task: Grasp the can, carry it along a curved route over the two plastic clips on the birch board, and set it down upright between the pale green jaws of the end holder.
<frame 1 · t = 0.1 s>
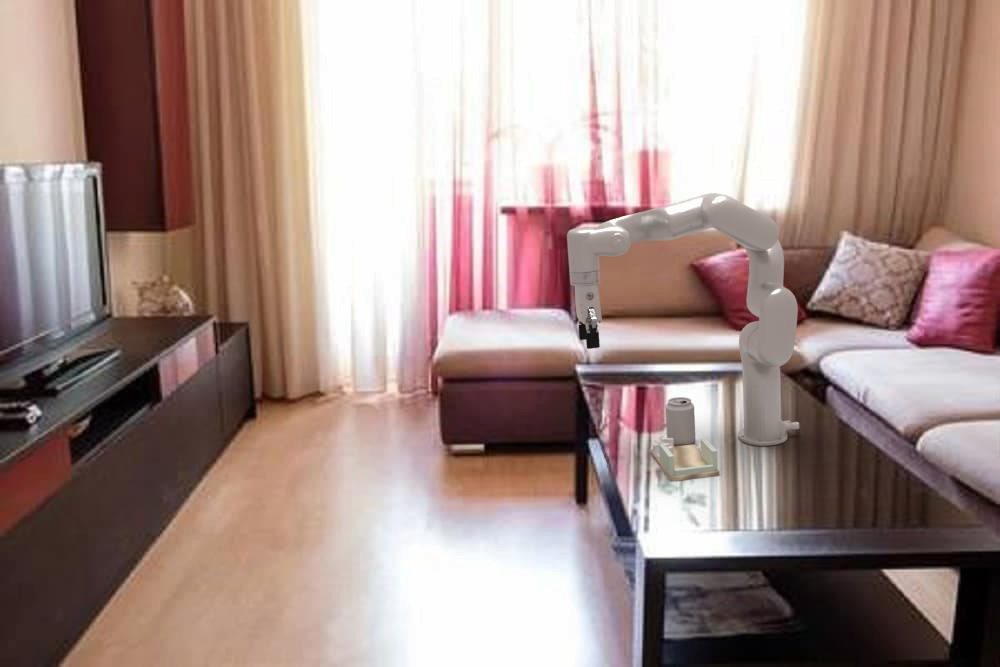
hand: (589, 343, 225), 31 cm above the table, fingers open, 9 cm apart
can: (681, 443, 238), on the table
end holder: (688, 470, 220), resting on route board
clip b: (663, 460, 227), resting on route board
route board: (683, 463, 224), on the table
clip a: (666, 455, 230), resting on route board
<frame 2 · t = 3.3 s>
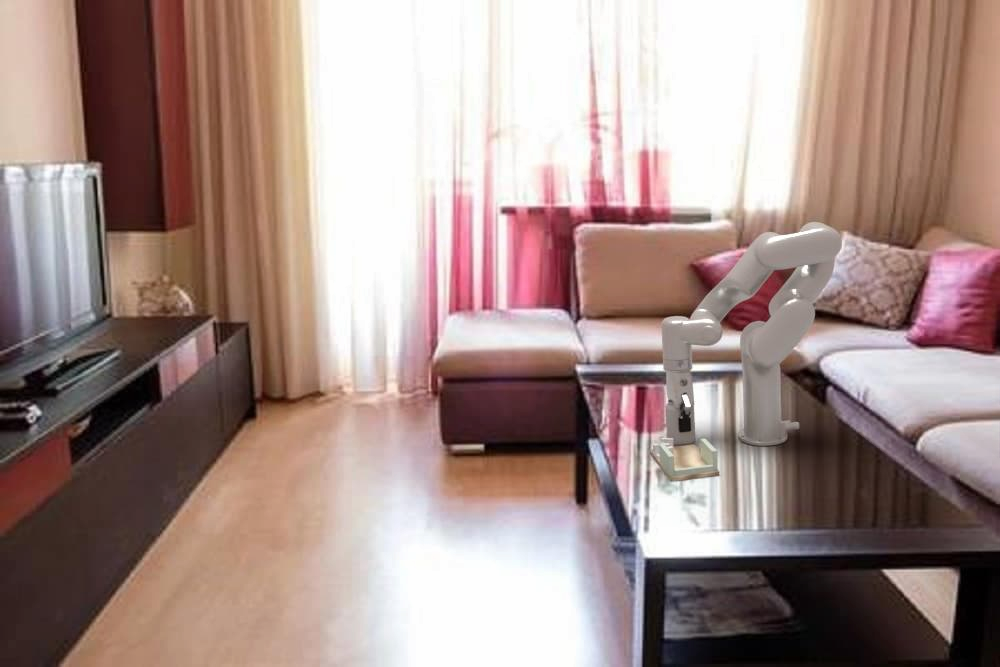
hand: (680, 426, 237), 5 cm above the table, fingers closed on can, 7 cm apart
can: (681, 443, 238), on the table, touching gripper
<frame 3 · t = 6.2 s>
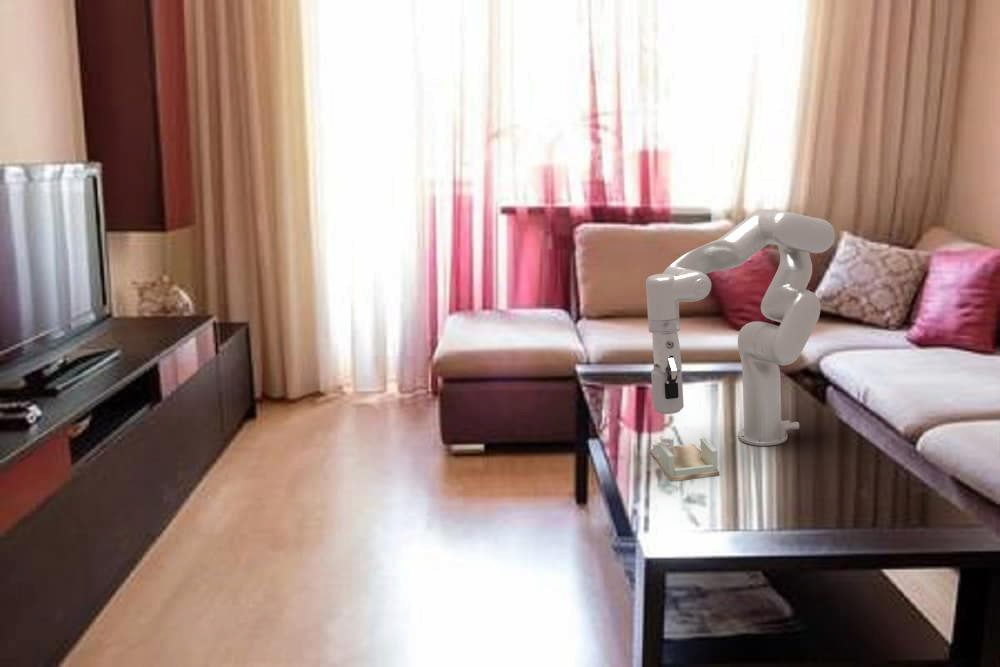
hand: (667, 392, 221), 19 cm above the table, fingers closed on can, 7 cm apart
can: (668, 411, 222), point 14 cm above the table, touching gripper
when the fingers open (7 cm above the table, at t = 9.4 s): can drops 1 cm, resting on route board.
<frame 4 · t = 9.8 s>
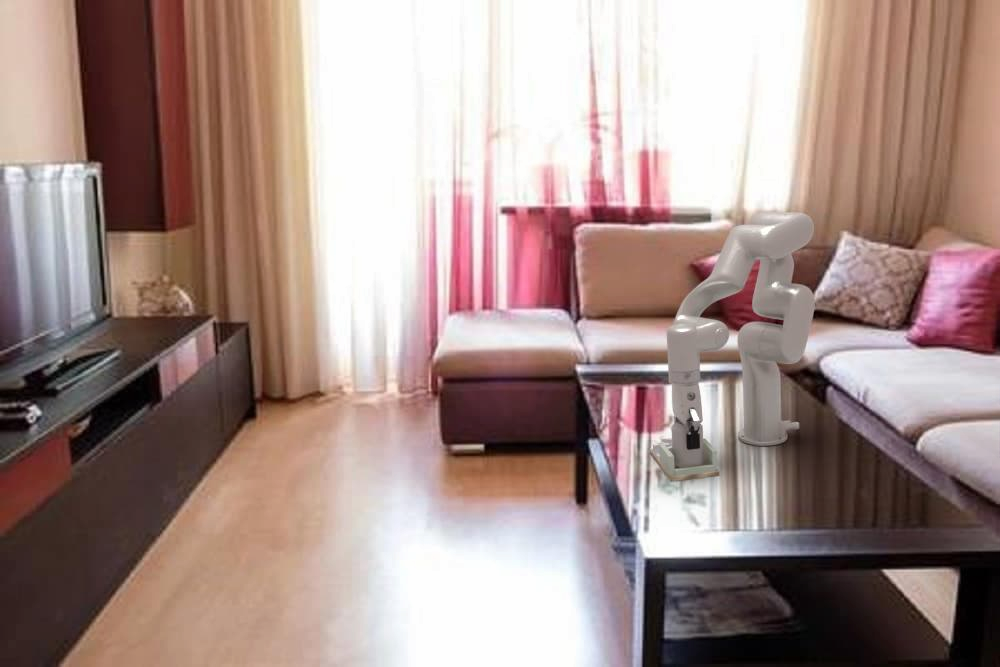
hand: (687, 442, 218), 7 cm above the table, fingers open, 9 cm apart
can: (688, 466, 220), point 1 cm above the table, touching route board
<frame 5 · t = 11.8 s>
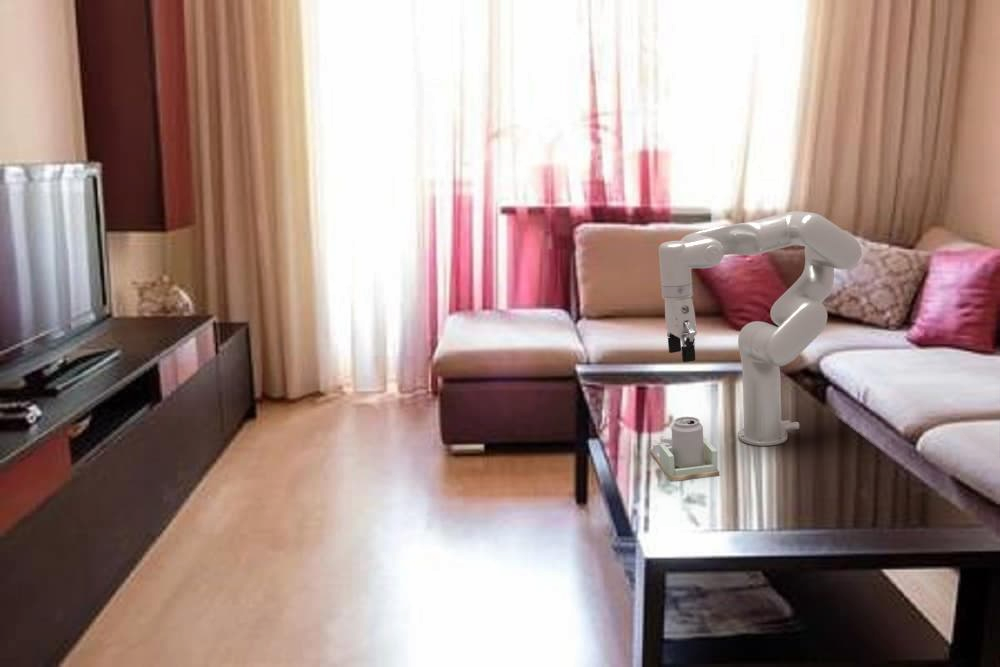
hand: (681, 356, 225), 26 cm above the table, fingers open, 9 cm apart
nothing on the table moved.
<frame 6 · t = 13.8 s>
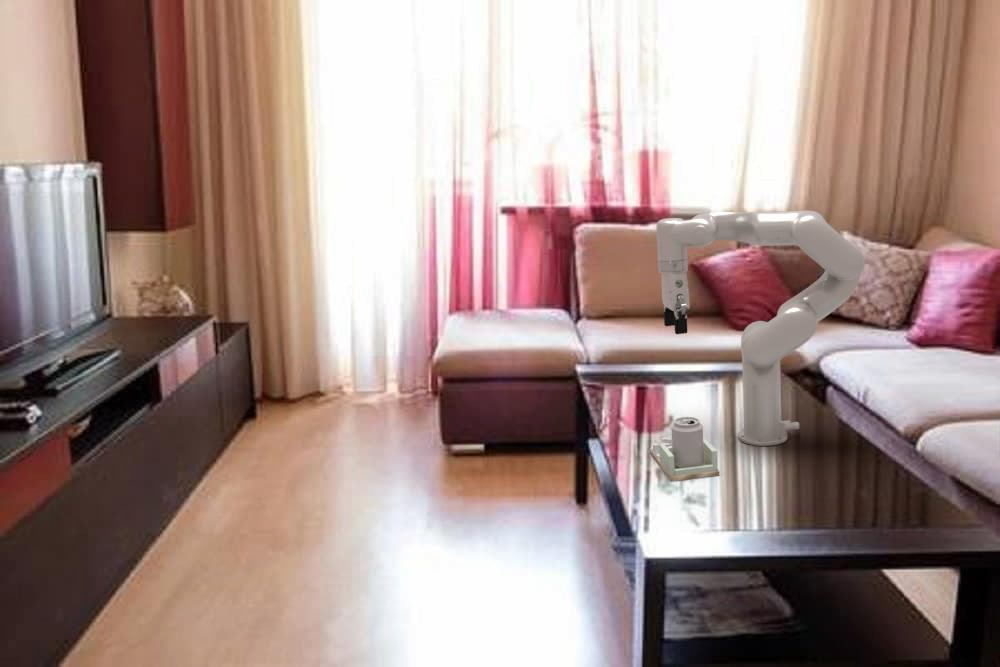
hand: (675, 329, 235), 30 cm above the table, fingers open, 9 cm apart
nothing on the table moved.
at the end: can 0.4 cm off-centre on the end holder, point 0.8 cm above the end holder's base; can tilted 0°; the gripper is holding nothing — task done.
